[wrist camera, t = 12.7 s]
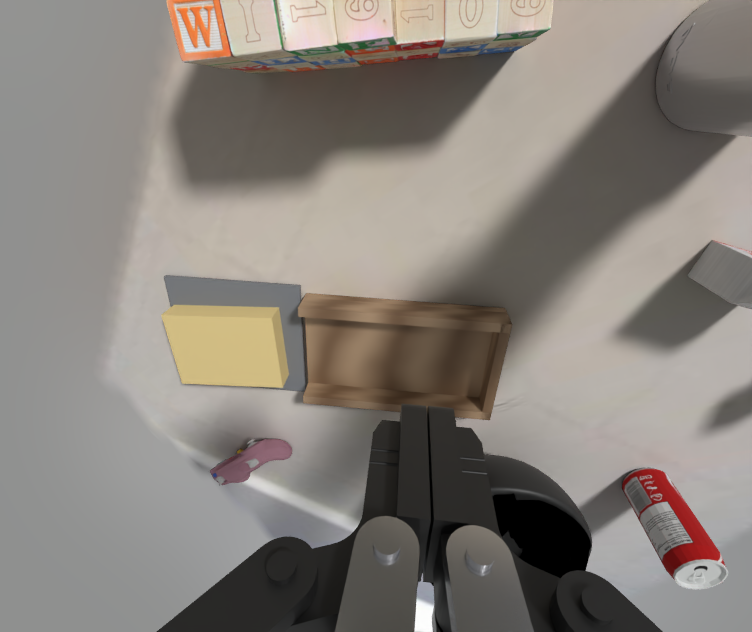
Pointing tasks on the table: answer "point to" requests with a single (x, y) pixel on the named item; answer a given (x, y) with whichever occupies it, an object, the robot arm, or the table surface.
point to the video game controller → (250, 460)
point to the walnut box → (403, 353)
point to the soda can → (674, 530)
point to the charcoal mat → (250, 296)
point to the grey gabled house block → (725, 273)
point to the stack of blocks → (349, 31)
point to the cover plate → (227, 345)
